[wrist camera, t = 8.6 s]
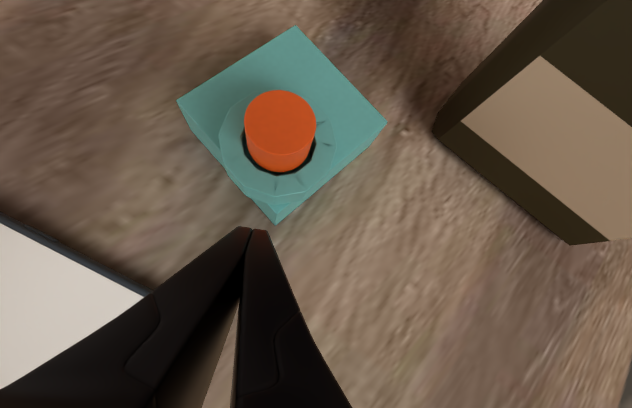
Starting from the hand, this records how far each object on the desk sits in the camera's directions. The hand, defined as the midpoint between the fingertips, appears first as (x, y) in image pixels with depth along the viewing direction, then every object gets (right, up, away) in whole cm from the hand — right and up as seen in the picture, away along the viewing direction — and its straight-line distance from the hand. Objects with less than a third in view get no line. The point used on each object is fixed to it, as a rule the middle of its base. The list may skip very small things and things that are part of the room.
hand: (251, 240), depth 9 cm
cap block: (-1, +6, +15) cm, 16 cm away
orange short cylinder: (0, +5, +9) cm, 10 cm away
